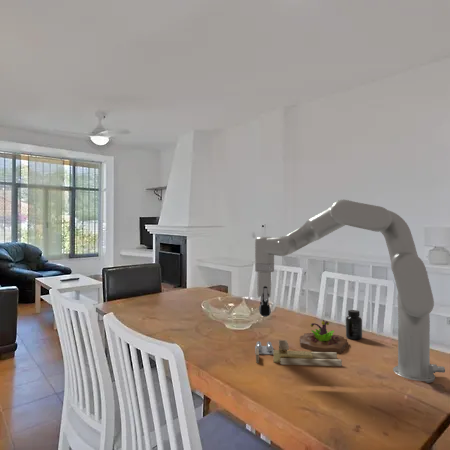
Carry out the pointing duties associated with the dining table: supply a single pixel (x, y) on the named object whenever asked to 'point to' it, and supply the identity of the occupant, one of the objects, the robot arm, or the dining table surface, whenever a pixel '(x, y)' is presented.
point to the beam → (330, 361)
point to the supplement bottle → (353, 325)
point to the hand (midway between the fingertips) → (264, 312)
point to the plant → (323, 340)
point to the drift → (290, 354)
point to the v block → (264, 348)
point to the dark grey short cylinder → (260, 311)
